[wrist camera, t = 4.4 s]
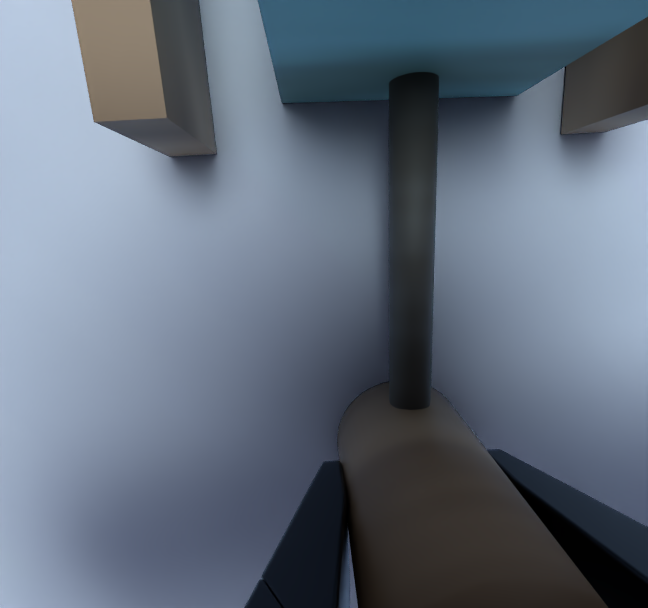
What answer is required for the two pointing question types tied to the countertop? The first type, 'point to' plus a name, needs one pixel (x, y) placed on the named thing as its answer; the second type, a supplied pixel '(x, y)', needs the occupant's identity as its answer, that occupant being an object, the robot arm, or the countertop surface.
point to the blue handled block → (417, 292)
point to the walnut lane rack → (193, 90)
